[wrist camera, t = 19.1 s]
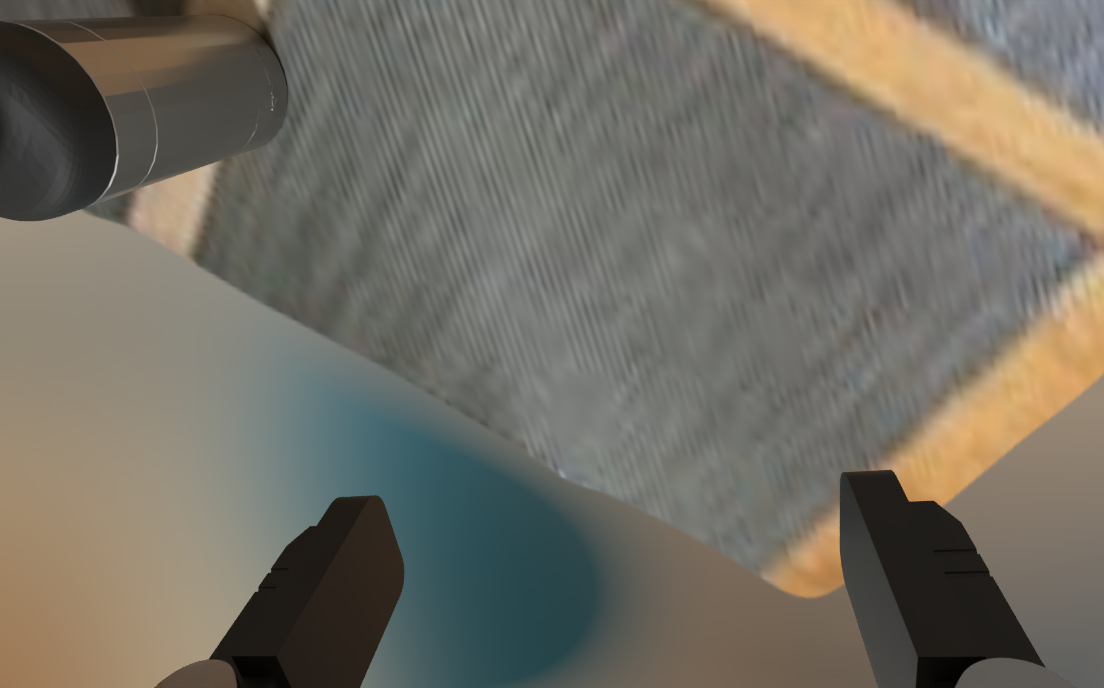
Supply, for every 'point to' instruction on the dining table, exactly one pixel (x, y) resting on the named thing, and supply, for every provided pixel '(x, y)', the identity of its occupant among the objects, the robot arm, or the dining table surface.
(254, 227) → the dining table surface
